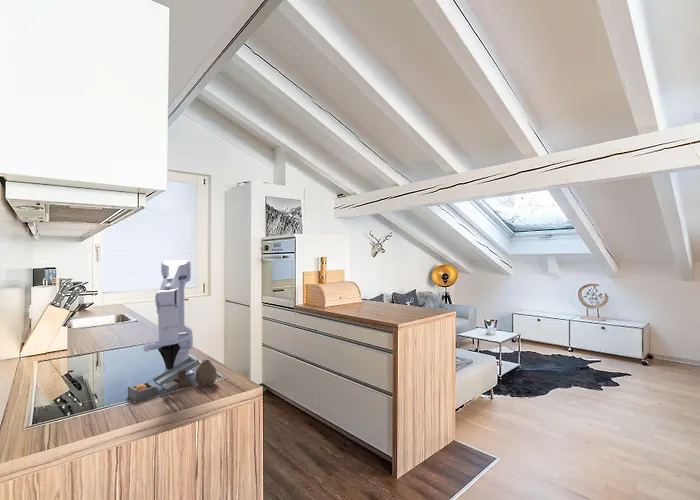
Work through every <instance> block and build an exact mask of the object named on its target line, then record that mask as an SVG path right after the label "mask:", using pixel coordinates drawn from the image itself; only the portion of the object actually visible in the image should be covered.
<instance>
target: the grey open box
mask: <svg viewBox="0 0 700 500" xmlns="http://www.w3.org/2000/svg"><path fill="white" fill-rule="evenodd" d="M142 384H144V385H146V387H147V389H144V390H140V391H138V390H137V389H135V388H136V386H138V385H139V384H137V385H133V386H132V385H128V386H127V397H128V398H129V399H131V400H132V401H134V402H135V401H136V402H140V400H141V401H143V400H146V399H150V398H153V397H156V396H158V395H159V387H158V386H156V385H154V384H153V383H149V382H148V381H147V382H143V383H142ZM136 402H135V403H136Z"/></svg>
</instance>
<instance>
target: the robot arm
mask: <svg viewBox="0 0 700 500" xmlns="http://www.w3.org/2000/svg"><path fill="white" fill-rule="evenodd" d="M191 265H192V264H191V260H189V259H187V260H185V259H184V260H163V261H162V262H161V265H160V266H161V267H160V268H161V269H160V270H161V271H160V272H161V276H162V278H163V280H162V282H161V285H160V288H159V290H158V291H156V292H155V297H154V298H155V299H154V300H155V306H156V314H157V321H158V323H157V324H158V325H157V327H158V329H157V330H158V340H157V341H153V342H150V343H146V344H143V351H144V352H146V353H147V352H150V351H155V350H157V351H158V353H160V356H161V357H162V360H163V362H164V368H165V369H164V371H166V370H170V369H173V366H175V365H177V364H179V363H180V362H182V361H184V360H186V359H187V358H189V357H190V350H192V348H193V345H194V336H193V330H192V328H191V327H189V326H188V325H186V324H185V286H186V283H188V282H190V281H191V279H192V276H191V275H192V274H191V271H192V270H191V268H192V267H191ZM194 373H195V371H193V370H192V369H191V370H189V371H187V372H186V376H188V375H192V374H194ZM177 378H178V379H179V377H177Z"/></svg>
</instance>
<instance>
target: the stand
mask: <svg viewBox="0 0 700 500" xmlns="http://www.w3.org/2000/svg"><path fill="white" fill-rule="evenodd" d="M172 381H175V382H177V383H178V385H179V387H178V388H176V389H174V390H173V391H176V390H178V391H180V390H179V389H181V390H184V389H186V387H187V388H190V387H192V383H190V382H187V375H186V370H185V369H184V370H180V371H179V378H176V379H174V380H172ZM167 384H168V383H167ZM189 386H190V387H189ZM183 388H184V389H183Z"/></svg>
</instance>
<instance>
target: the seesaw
mask: <svg viewBox="0 0 700 500" xmlns="http://www.w3.org/2000/svg"><path fill="white" fill-rule="evenodd" d="M200 365H201V362H200V361H199V359H198V358H197V357H193V356H189V358H187V359H186V360H184V361H182V362H180V363H179V364H177V365H175V366H173V369H170V370H166V371H165V370H164V371H163V372H161V373H159V374H158V375H156V376H154V377H152V381H153V384H155V385H157V386H160V387H161V389H162V391H163V392H165V393H167V394H169V393H171V392H173V391H175V390H174V389H176V388H178V387H179V382H178V383H177V382H175V381H172V380H174V379H176V378H177V377H179V371H180V370H184V369H185V370H186V372H187V371H189V370H191V371H192V369H194V368H196V367H197V366H200ZM167 383H168V384H167Z"/></svg>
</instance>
